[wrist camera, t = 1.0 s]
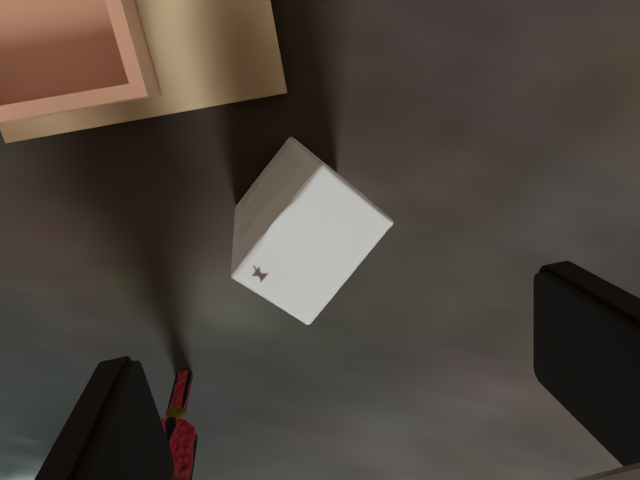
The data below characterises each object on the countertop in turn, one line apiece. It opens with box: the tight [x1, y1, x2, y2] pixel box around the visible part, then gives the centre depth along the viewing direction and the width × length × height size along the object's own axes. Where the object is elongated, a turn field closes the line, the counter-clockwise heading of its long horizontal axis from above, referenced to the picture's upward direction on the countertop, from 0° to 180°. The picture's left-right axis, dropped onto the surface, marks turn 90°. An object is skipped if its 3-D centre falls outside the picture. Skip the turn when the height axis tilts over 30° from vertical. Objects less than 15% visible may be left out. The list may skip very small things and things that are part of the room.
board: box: [0, 0, 287, 143], centre depth 24 cm, size 16×12×1 cm
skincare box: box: [231, 137, 393, 325], centre depth 24 cm, size 6×4×12 cm
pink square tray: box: [0, 0, 162, 124], centre depth 22 cm, size 10×10×4 cm
